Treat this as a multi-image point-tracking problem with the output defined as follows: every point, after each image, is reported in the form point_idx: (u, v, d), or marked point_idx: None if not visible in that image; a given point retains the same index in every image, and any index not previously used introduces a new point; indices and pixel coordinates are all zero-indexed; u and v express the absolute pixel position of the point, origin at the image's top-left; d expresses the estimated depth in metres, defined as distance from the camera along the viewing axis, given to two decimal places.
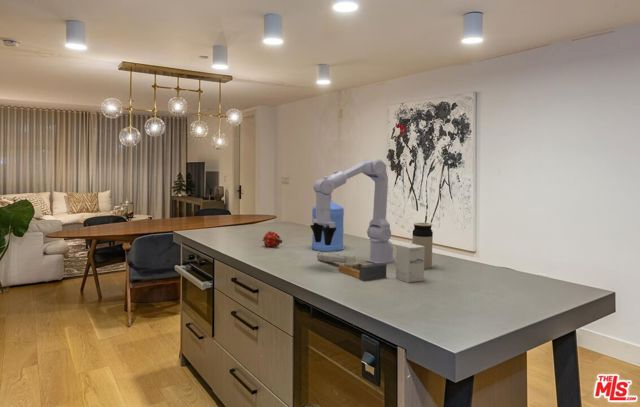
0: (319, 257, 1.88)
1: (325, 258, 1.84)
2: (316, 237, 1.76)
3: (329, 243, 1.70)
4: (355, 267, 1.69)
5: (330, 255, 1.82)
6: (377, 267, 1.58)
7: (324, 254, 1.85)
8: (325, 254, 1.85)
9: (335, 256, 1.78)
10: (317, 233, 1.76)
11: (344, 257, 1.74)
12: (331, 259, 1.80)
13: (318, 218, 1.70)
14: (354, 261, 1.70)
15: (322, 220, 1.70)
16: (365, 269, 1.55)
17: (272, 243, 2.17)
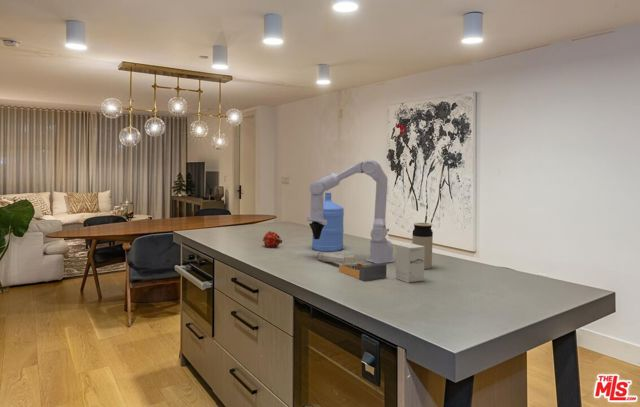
0: (319, 257, 1.88)
1: (325, 258, 1.84)
2: None
3: (318, 237, 1.93)
4: (354, 267, 1.69)
5: (330, 255, 1.82)
6: (377, 267, 1.58)
7: (324, 254, 1.86)
8: (325, 254, 1.85)
9: (335, 256, 1.79)
10: None
11: (343, 257, 1.73)
12: (331, 259, 1.81)
13: (312, 216, 1.91)
14: (353, 261, 1.70)
15: (316, 218, 1.90)
16: (365, 269, 1.55)
17: (272, 243, 2.17)
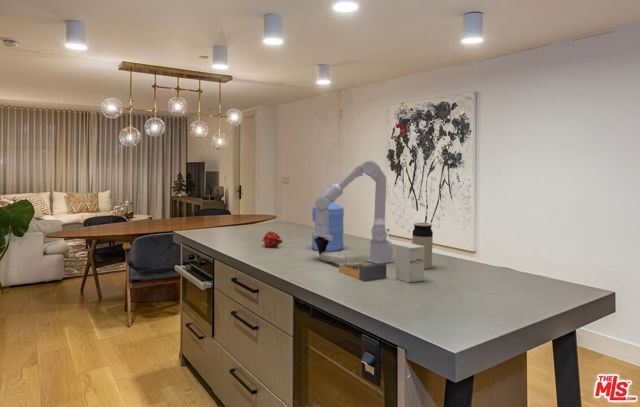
0: (321, 257, 1.87)
1: (327, 258, 1.83)
2: None
3: None
4: (355, 267, 1.68)
5: (331, 255, 1.80)
6: (377, 267, 1.58)
7: (326, 254, 1.84)
8: (327, 254, 1.84)
9: (336, 256, 1.77)
10: None
11: (345, 257, 1.72)
12: (332, 259, 1.79)
13: (317, 231, 1.87)
14: (354, 261, 1.69)
15: (321, 233, 1.87)
16: (365, 269, 1.55)
17: (272, 243, 2.17)
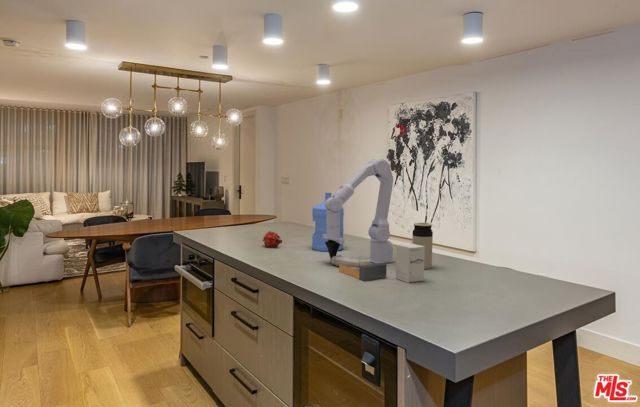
0: (332, 261, 1.79)
1: (338, 262, 1.75)
2: None
3: None
4: None
5: (344, 259, 1.73)
6: (377, 267, 1.58)
7: (337, 258, 1.77)
8: (338, 258, 1.76)
9: (349, 260, 1.70)
10: None
11: (358, 261, 1.64)
12: (345, 263, 1.72)
13: (328, 234, 1.80)
14: None
15: (332, 236, 1.79)
16: (365, 269, 1.55)
17: (272, 243, 2.17)
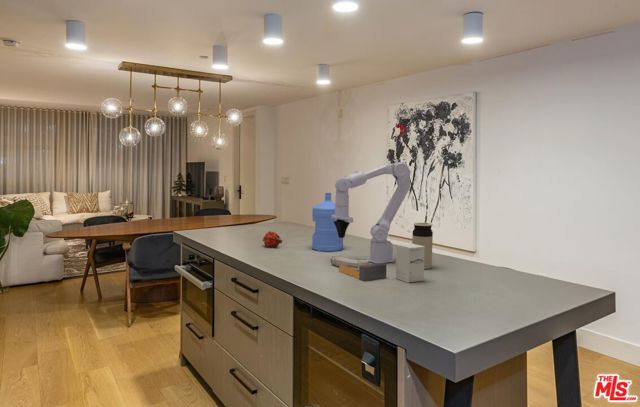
0: (332, 261, 1.80)
1: (338, 262, 1.75)
2: None
3: (343, 236, 1.87)
4: None
5: (343, 259, 1.73)
6: (377, 267, 1.58)
7: (337, 258, 1.77)
8: (338, 258, 1.76)
9: (348, 261, 1.70)
10: None
11: (357, 262, 1.64)
12: (344, 264, 1.72)
13: (337, 214, 1.84)
14: None
15: (341, 216, 1.84)
16: (365, 269, 1.55)
17: (272, 243, 2.17)
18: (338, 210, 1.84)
